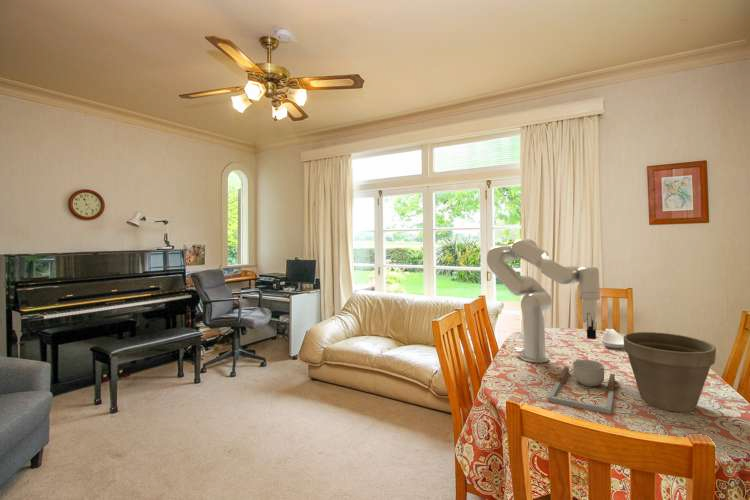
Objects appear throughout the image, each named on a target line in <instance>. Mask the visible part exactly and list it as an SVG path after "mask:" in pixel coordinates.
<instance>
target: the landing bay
mask: <svg viewBox="0 0 750 500" xmlns="http://www.w3.org/2000/svg"><path fill="white" fill-rule="evenodd" d="M561 385H562V384H560V382H559V381H555V383H554V385H553V387H552V388H551V390H550V392H549V393H548V396H547V402H550V403H555V404H560V405H564V406H569V407H575V408H578V409H583V410H588V411H594V412H598V413H602V414H607V415H612V411H613V404H614V398H615V392H614V391H613V392H612V391H609V392H607V393H608V394H607V399H606V404H605V406H603V405H599V404H593V403H589V402H588V403H587V402H583V401H578V400H573V399H568V398H562V397H558V396H557V394H558V392H559V390H560V387H562V386H561Z"/></svg>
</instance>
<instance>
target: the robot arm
mask: <svg viewBox="0 0 750 500" xmlns="http://www.w3.org/2000/svg"><path fill="white" fill-rule="evenodd" d="M521 259H522V260H523V261H525V262H527V263H529V264H530V265H533V266H534V267H536V268H537V270H539V271H540V272H541V273H542V274H543V275H544V276H546V277H547V278H549V279H551V280H552V281H554V282H556V283H559V284H560V285H571V284H575V283H578V288H579V300H582V301H581V302H582V303H581V312H582V313H581V315H582V316H581V320H582V323H583V324H585V323H586V338H587V340H588V339H589V340H596V339H597V329H596V323H597V321H598V301H600V300H601V291H600V271H599V270H600V269H599V268H598V267H596V266H576V265H570V266H563V265H561V264H559V263H558V262H555V261H554V260H552V259H551V258H550V257H549V252H548V251H547V250H545V249H542V248H541V247H539V246H538V244H537V243H536V242H535V240H533V239H530V238H523V239H522V238H520V239H516V240H515V241H513V243H512V244H506V245H505V244H504V245H495V246H493V247H491V248H490V249H489V250H488V251H487V254H486V263H487V266H488V268H489V270H490V271H491V272H492V273H493V274H494V275H495V276H496V277H497V279H499V281H500V282H501V283H502V284H503V285H504V286H505V287H506V288H507V290H508V291H509V292H510V293H511V294H512V295H514V296H516V297H517V296H518V297H519V296H523V297H522V298H521V301H520V309H521V313H522V314H521V315H522V331H523V332H522V333H523V337H522V338H523V340H522V341H523V347H521V348H519V347H514V352H515V353H517V354H520V359H521V360H522V361H525V362H529V363H537V364H538V363H539V364H541V363H543V364H544V363H547V362H549V361H550V357H549V356H548V355H546V332H545V331H546V329H545V318H544V314H543V311H544V312H545V311H547V310H549V309H550V308H551V307H552V305H553V300H552V296H551V295H550V294H549V293H548V291H547V290H546V289H545V288H544V287H542V285H541V284H540V283H539V282H538V281H537V280H536V279H534V278H533V277H532V276H529V275H520V274H519V273H518V272H517V271H516V270H515V269H514V268H513V267H511V266H510V265H509V264H508V263H506V262H514V261H516V260H517V261H518V260H521Z"/></svg>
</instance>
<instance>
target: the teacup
mask: <svg viewBox="0 0 750 500" xmlns="http://www.w3.org/2000/svg"><path fill="white" fill-rule="evenodd" d="M572 371H573V376H574V379H575V380H576V381H577V382H578V383H579V384H581V385H583V386H586V387H597V386H599V385H601V384H602V383H603V382H604V380H605V365H604V363H602V362H600V361H596V360H593V359H580V358H576V359H575V360H574V361H572Z"/></svg>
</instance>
